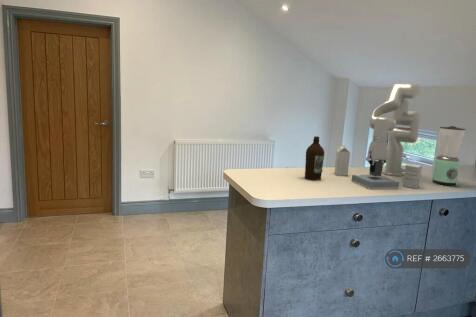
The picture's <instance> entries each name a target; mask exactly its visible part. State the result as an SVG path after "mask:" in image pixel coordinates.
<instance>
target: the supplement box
mask: <svg viewBox="0 0 476 317" xmlns="http://www.w3.org/2000/svg"><path fill="white" fill-rule="evenodd" d="M422 167H423V165H421V164H413V163H407V164H406V165H405V167H404V169H405V172H404V174H403V180H402V181H403V183H402V187H405V188H408V189H409V188H410V189H414V190H415V189H418V188H420V183H421V177H422V176H421V175H422Z"/></svg>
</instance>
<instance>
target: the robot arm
mask: <svg viewBox="0 0 476 317" xmlns="http://www.w3.org/2000/svg"><path fill="white" fill-rule="evenodd" d="M389 86H390V87H389V90H388V92H387V95H386V98H385V101H384V102H383V103H381V104H380V105H378V106H377V107H376V108H374V110H373V111H372V113H371V116H370V119H369V127H370V128H371V129H372V130H373V131H372V132H373V134H372V141H371V142H370V144H369V146H368V151H367V156H366V158H365V161H367V162H368V164H369V173H370V172H374V167H375V165H374V163H375V161H381V162H383V166H382V169H383V167H384V165H385V170H382V173H381V174H383V173H384V175H386V174H387V176H392V177H402V176H404V174H403V172H404V173H405V168H402V164H403V157H404V146H403V144H402V143H408V144H415V143H416V142H417V141H418V137H419V130H420V122H421V116H420V113H419V112H418V111H415V110H409V103H410V102H409V99H415V98H417V97H418V96H419V95H420V93H421V86H420V85H419V84H418V83H414V82H413V83H411V82H410V83H407V82H394V83H392V84H390V85H389ZM390 112H392V117H386V116H382V115H384V114H387V113H390ZM397 125H398V126H397ZM403 126H407V127H403ZM372 161H373V162H372Z"/></svg>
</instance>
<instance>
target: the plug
mask: <svg viewBox="0 0 476 317" xmlns="http://www.w3.org/2000/svg"><path fill="white" fill-rule="evenodd" d="M372 162H373V161H372ZM374 165H375V167H374V172H370V171H369V175H373V176H382V174H383V173H382V172H383V168H382V166H383V167H384V165H383V162H381V161H379V160H375V163H374Z"/></svg>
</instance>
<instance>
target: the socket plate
mask: <svg viewBox="0 0 476 317" xmlns="http://www.w3.org/2000/svg"><path fill="white" fill-rule="evenodd" d="M351 182H352V183H354V184H356V185H359V186H362V187H364V188H366V189H368V190H398V189H399V187H400V186H399V185H400V182H399V181H398V180H395V179H393V178H389V177H386V176H383V175H381V176H373V175H370V174H359V173H358V174H357V173H355V174H352V175H351Z"/></svg>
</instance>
